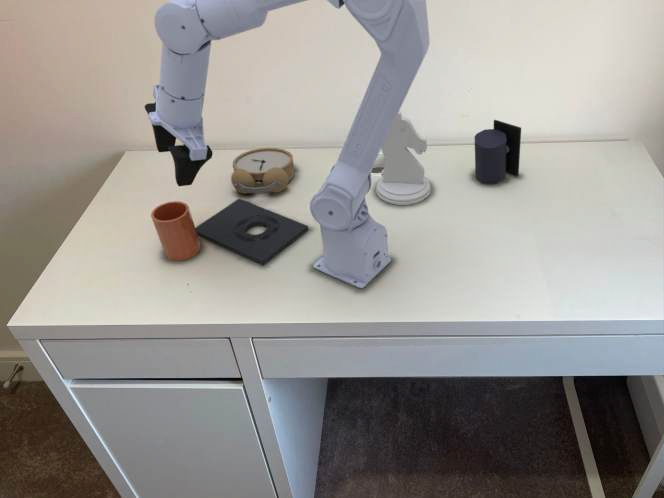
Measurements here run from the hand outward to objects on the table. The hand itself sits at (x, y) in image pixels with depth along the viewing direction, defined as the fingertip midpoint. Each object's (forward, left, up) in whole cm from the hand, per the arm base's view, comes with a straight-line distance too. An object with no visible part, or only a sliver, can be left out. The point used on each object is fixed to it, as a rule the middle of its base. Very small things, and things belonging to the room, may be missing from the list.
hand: (174, 167), depth 86 cm
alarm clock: (+3, -19, -14) cm, 24 cm away
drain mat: (-6, -6, -14) cm, 16 cm away
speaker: (-33, -42, -14) cm, 55 cm away
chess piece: (-21, -30, -14) cm, 40 cm away
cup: (0, +3, -14) cm, 14 cm away
